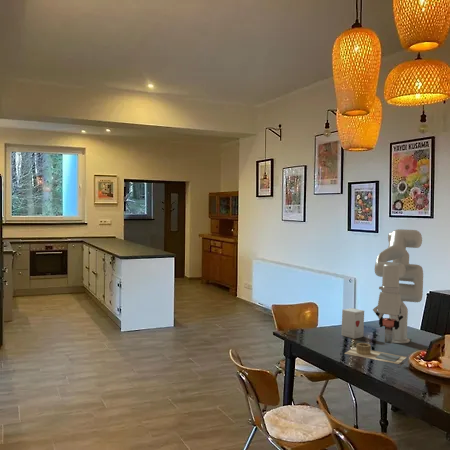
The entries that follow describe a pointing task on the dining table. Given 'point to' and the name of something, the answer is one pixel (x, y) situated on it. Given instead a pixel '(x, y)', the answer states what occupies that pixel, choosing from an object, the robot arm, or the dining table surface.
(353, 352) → the board
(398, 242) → the robot arm
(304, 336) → the dining table surface
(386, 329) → the peg
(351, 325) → the supplement box
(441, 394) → the dining table surface
